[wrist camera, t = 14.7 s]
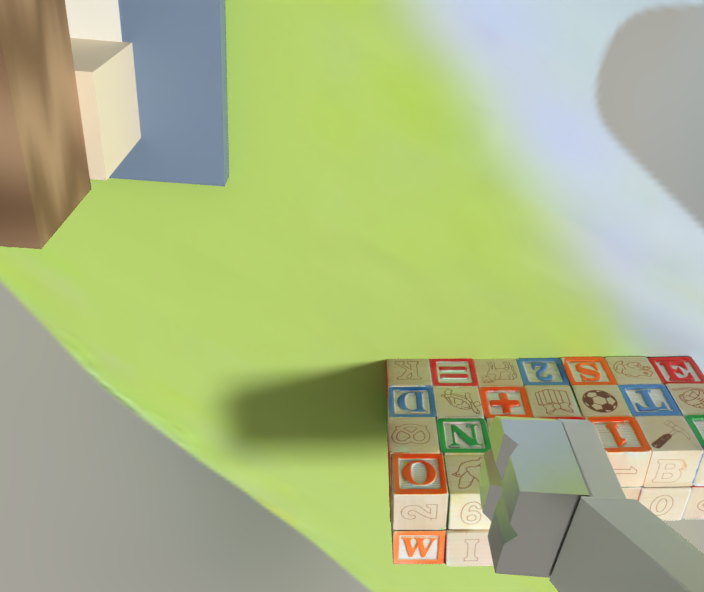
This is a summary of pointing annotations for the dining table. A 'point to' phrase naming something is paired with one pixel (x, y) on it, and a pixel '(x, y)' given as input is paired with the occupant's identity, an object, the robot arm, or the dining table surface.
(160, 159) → the board
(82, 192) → the walnut beam
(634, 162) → the dining table surface
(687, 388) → the stack of blocks
